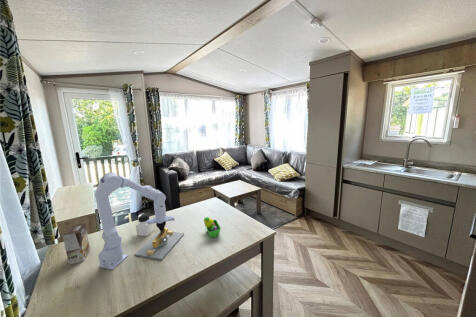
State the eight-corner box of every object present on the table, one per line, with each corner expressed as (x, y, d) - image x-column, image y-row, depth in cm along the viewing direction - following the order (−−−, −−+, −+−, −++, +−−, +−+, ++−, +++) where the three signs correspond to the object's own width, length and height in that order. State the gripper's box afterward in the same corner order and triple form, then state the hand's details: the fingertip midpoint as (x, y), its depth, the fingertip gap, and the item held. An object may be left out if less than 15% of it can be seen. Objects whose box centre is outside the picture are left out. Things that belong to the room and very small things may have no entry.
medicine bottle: (154, 229, 121) (151, 212, 119) (147, 236, 114) (145, 217, 112) (143, 228, 122) (141, 211, 119) (136, 235, 115) (134, 217, 112)
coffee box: (84, 261, 94) (78, 232, 91) (68, 265, 92) (61, 235, 89) (91, 249, 103) (85, 223, 99) (76, 253, 101) (70, 225, 97)
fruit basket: (221, 236, 112) (220, 219, 110) (206, 240, 109) (205, 222, 107) (216, 226, 123) (215, 210, 120) (202, 229, 120) (201, 213, 117)
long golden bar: (148, 247, 100) (147, 241, 99) (160, 233, 113) (160, 227, 112) (161, 248, 99) (160, 242, 98) (172, 233, 112) (171, 228, 111)
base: (161, 260, 94) (161, 256, 94) (134, 255, 98) (134, 251, 97) (184, 234, 115) (183, 231, 114) (161, 231, 119) (160, 228, 118)
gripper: (145, 217, 103) (147, 239, 105) (173, 213, 106) (175, 234, 109) (147, 211, 109) (150, 232, 112) (173, 207, 113) (175, 228, 116)
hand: (162, 233), depth 111 cm, fingers closed, pressing on long golden bar
